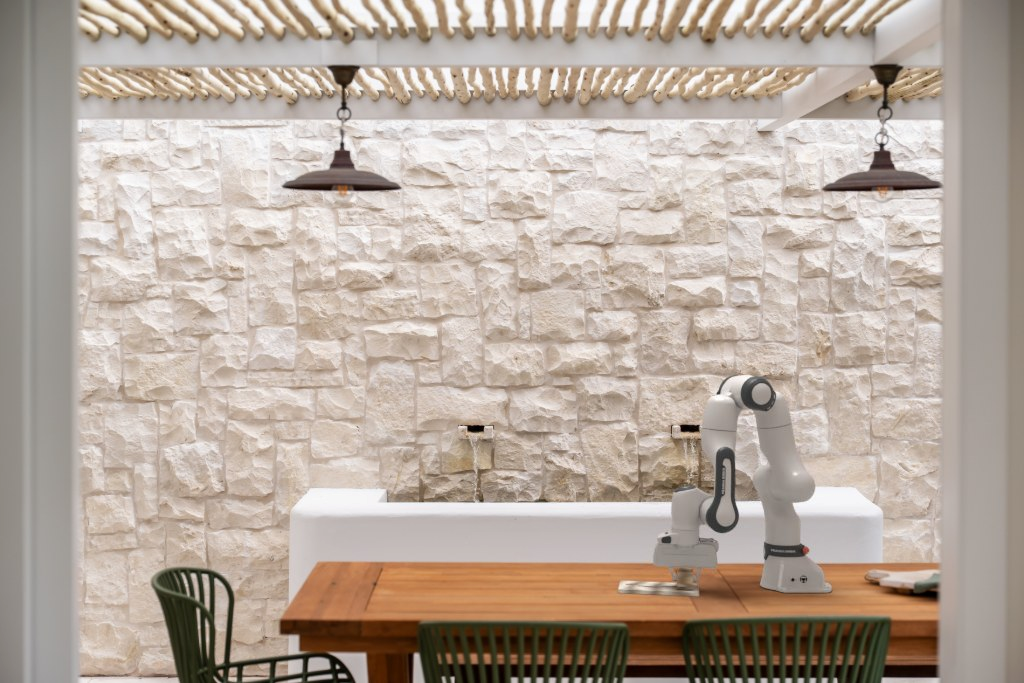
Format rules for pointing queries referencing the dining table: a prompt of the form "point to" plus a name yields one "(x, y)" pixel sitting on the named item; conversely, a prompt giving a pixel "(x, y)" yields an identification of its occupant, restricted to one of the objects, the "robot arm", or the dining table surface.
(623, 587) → the plank
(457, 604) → the dining table surface
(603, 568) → the dining table surface
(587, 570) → the dining table surface
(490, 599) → the dining table surface
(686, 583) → the beige brown jar
